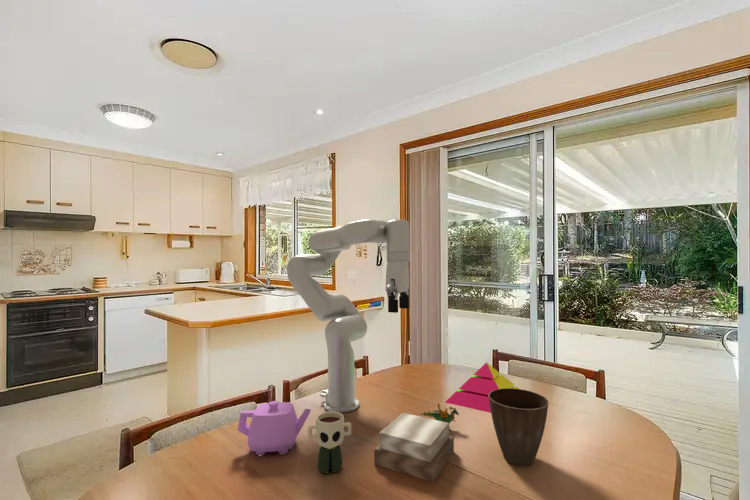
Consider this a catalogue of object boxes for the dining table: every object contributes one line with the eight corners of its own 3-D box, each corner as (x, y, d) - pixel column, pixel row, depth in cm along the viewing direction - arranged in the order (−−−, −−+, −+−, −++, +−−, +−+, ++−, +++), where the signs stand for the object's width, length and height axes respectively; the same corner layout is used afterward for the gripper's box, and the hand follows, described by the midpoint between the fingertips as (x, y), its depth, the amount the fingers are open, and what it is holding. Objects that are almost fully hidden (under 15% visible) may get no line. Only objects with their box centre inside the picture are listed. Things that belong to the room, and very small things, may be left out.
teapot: (232, 461, 99) (232, 413, 99) (243, 438, 112) (243, 395, 112) (309, 456, 102) (309, 409, 102) (312, 434, 114) (311, 392, 114)
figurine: (460, 430, 116) (459, 404, 116) (421, 431, 115) (421, 404, 115) (457, 426, 119) (457, 400, 119) (419, 427, 118) (419, 401, 119)
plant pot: (482, 443, 108) (482, 387, 108) (535, 444, 107) (535, 387, 107) (498, 474, 93) (497, 409, 93) (559, 475, 92) (558, 409, 93)
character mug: (308, 478, 92) (307, 424, 92) (308, 462, 99) (308, 412, 99) (352, 474, 93) (352, 421, 93) (350, 458, 100) (350, 409, 100)
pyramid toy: (529, 396, 145) (528, 359, 145) (513, 420, 124) (512, 377, 124) (466, 384, 159) (465, 350, 159) (442, 404, 138) (442, 365, 138)
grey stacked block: (374, 464, 98) (374, 433, 98) (401, 437, 111) (401, 410, 112) (432, 482, 90) (432, 448, 90) (453, 451, 104) (453, 422, 104)
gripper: (397, 257, 132) (397, 306, 132) (376, 258, 117) (377, 313, 116) (417, 257, 129) (418, 307, 129) (399, 257, 114) (400, 314, 113)
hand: (398, 310), depth 123 cm, fingers open, 9 cm apart
